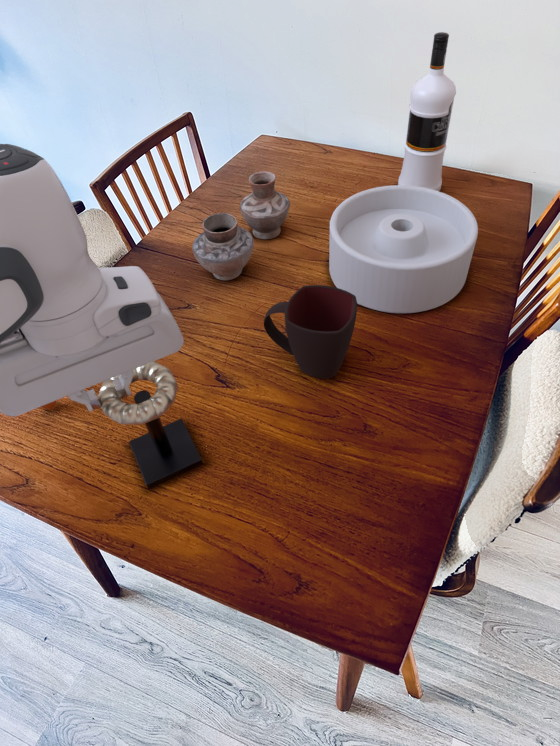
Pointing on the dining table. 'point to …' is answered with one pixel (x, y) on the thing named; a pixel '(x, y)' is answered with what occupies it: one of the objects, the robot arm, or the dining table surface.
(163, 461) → the peg stand
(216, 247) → the pottery
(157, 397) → the ring
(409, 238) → the container
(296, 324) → the cup
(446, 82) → the vodka
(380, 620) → the dining table surface
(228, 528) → the dining table surface
